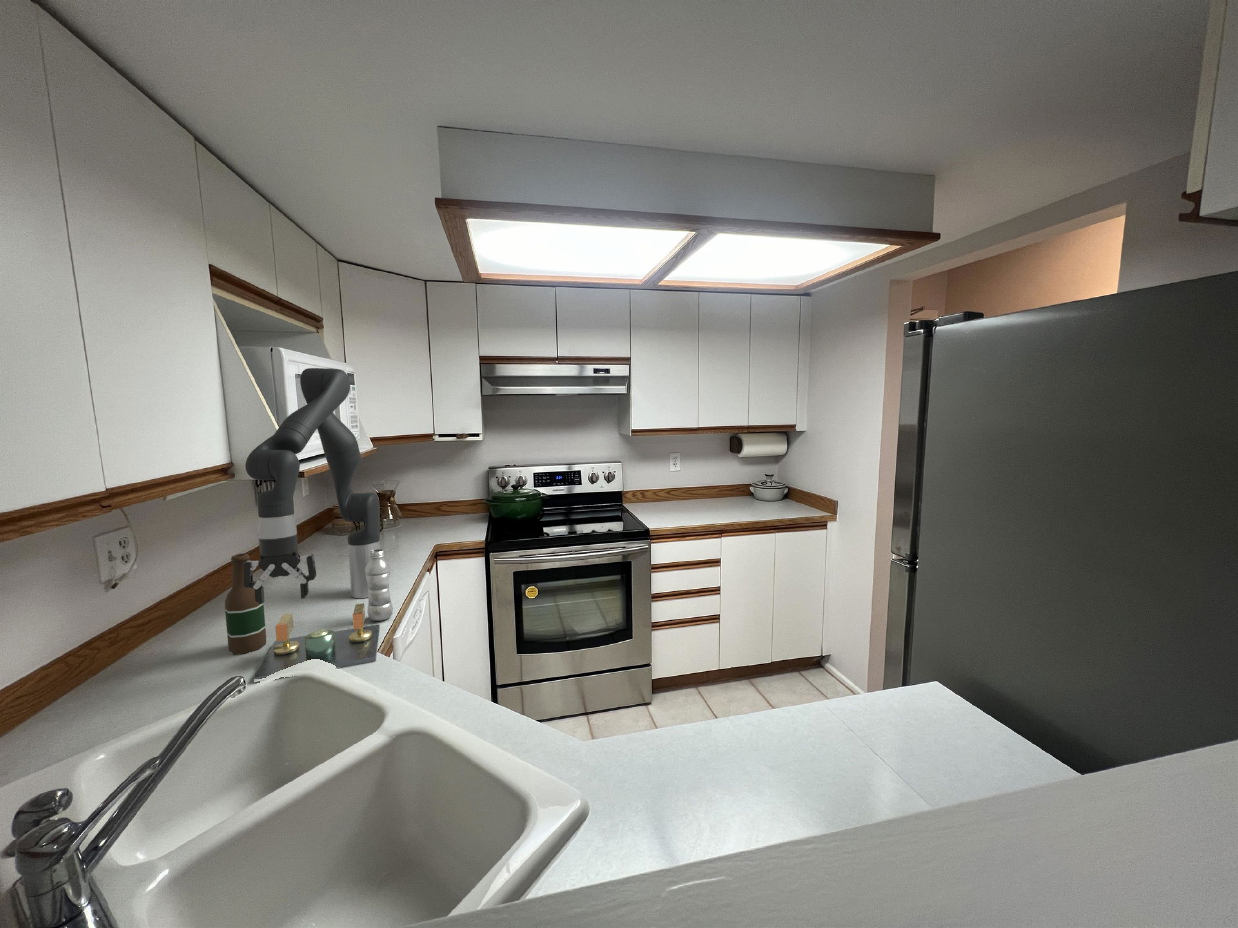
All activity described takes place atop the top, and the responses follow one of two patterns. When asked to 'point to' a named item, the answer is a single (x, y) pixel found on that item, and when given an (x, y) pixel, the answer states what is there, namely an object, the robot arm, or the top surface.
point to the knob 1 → (285, 636)
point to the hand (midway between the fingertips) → (282, 600)
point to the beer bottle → (243, 613)
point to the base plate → (338, 659)
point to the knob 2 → (359, 625)
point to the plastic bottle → (378, 586)
